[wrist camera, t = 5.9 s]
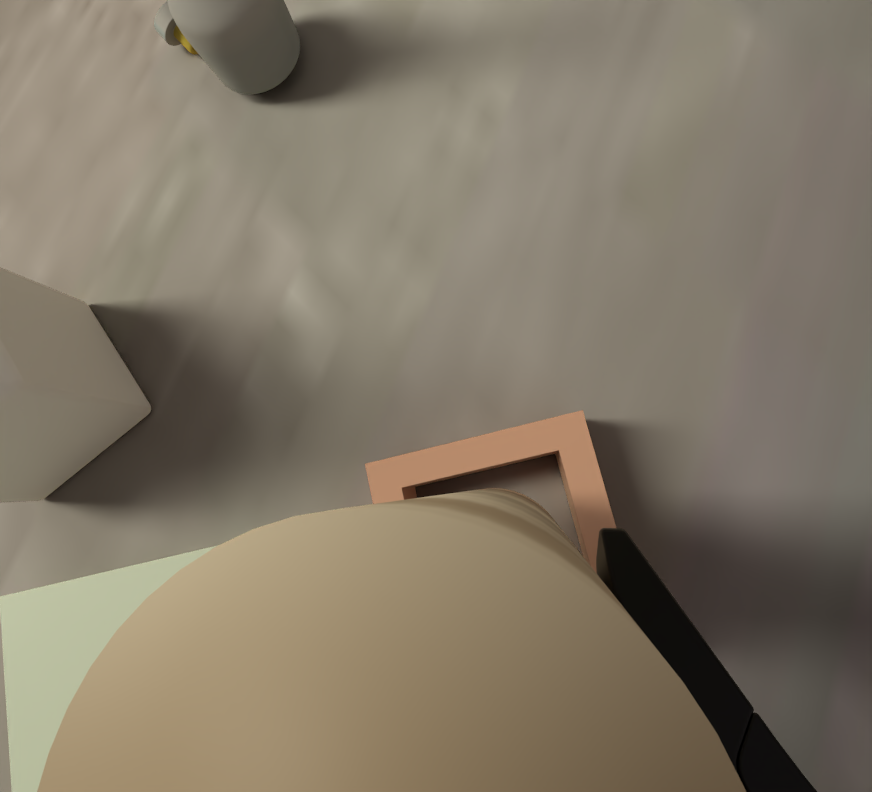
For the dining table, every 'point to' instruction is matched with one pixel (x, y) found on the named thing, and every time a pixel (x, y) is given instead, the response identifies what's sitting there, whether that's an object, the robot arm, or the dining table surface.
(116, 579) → the sage board
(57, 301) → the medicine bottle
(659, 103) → the dining table surface
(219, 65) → the reed diffuser
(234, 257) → the dining table surface
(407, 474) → the terracotta socket
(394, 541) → the beige ribbed peg
